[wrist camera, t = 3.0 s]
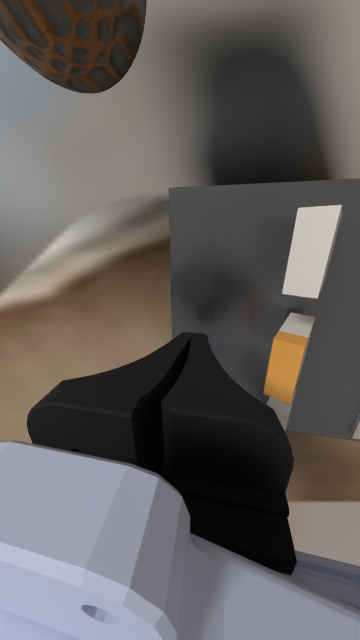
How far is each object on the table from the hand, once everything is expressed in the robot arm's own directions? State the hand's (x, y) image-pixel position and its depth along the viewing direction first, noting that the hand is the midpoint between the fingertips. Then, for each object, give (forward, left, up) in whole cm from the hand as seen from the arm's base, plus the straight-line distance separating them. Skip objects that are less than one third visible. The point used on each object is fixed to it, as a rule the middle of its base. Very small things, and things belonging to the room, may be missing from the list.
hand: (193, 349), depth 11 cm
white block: (+5, -6, -3) cm, 8 cm away
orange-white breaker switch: (0, -6, -3) cm, 7 cm away
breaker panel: (0, -6, -5) cm, 8 cm away
